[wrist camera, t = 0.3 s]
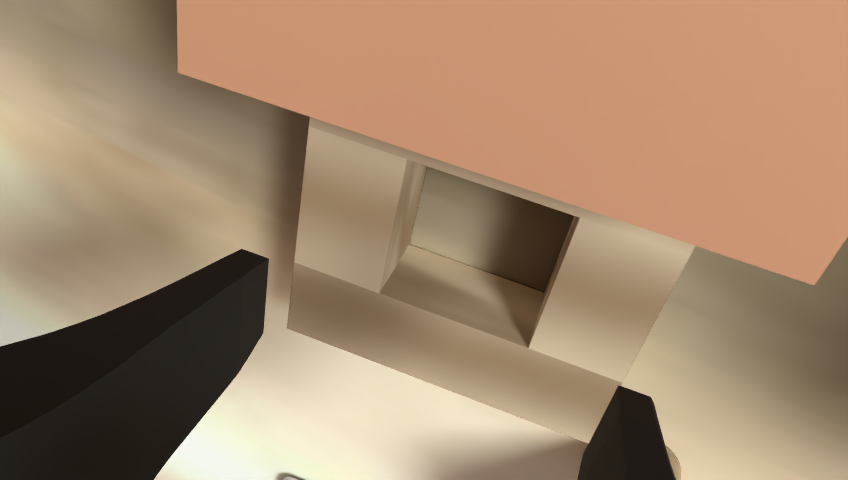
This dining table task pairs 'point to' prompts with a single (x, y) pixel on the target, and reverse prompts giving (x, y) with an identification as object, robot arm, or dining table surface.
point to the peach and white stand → (578, 102)
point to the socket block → (470, 289)
